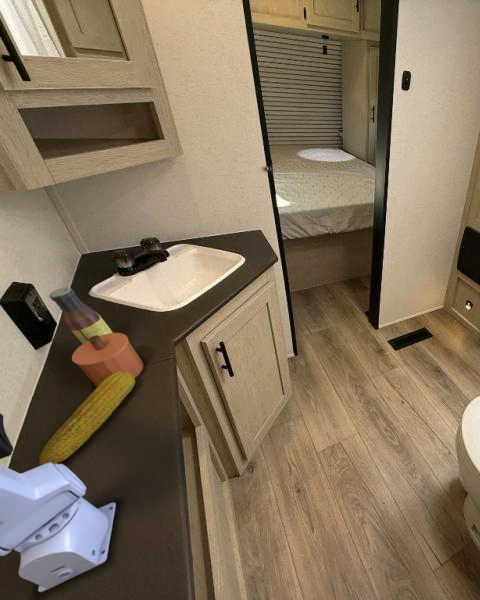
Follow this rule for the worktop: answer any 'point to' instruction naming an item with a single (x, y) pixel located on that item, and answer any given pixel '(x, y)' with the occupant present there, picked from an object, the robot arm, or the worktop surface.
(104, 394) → the food
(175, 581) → the worktop surface
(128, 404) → the worktop surface
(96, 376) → the pot
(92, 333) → the sauce bottle
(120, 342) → the pot lid
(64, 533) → the robot arm
